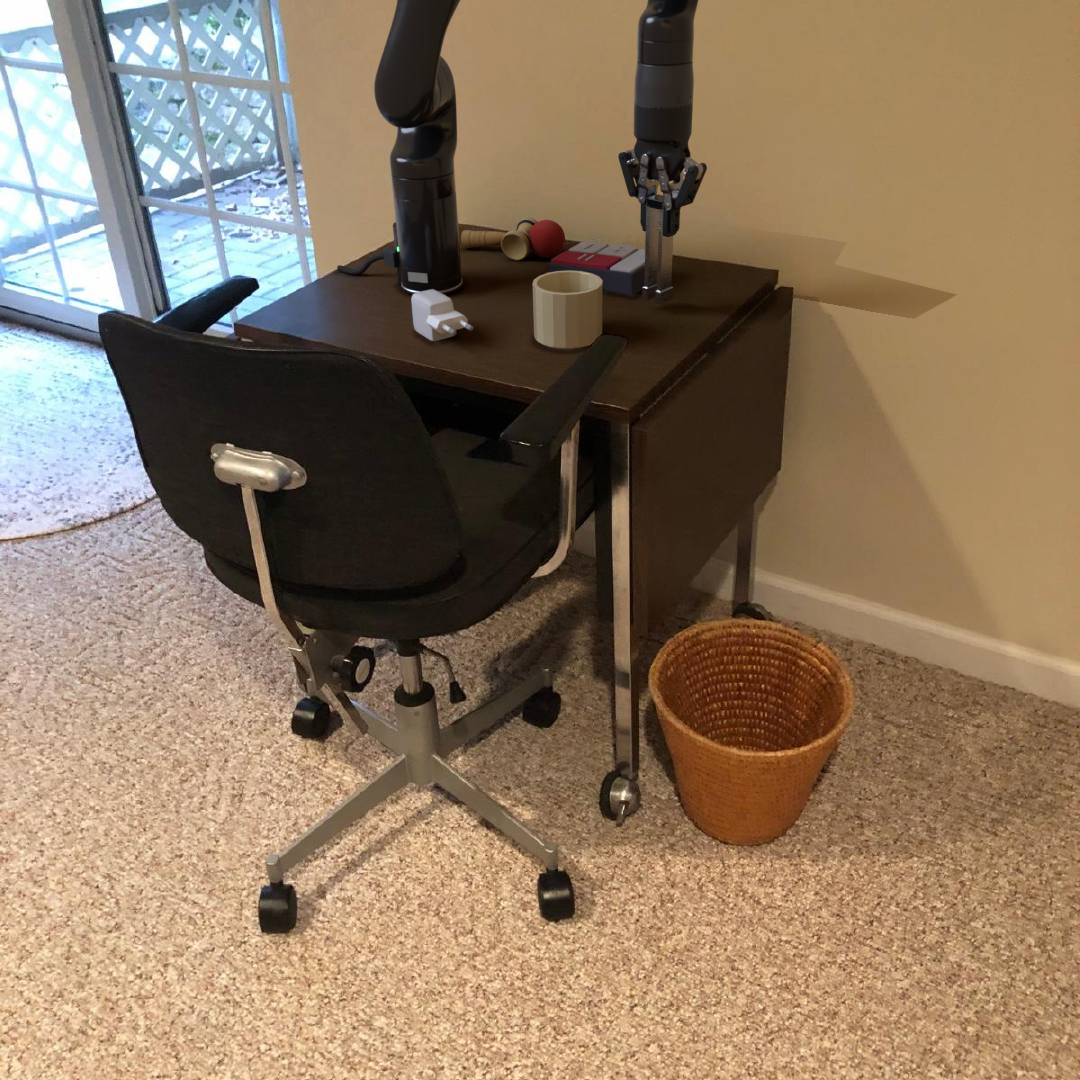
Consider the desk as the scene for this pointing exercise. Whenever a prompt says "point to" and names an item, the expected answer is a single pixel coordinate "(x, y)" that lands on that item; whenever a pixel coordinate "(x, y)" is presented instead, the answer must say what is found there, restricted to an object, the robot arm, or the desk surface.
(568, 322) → the crock
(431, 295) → the power adapter
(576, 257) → the calculator
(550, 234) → the kendama
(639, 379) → the desk surface
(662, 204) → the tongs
